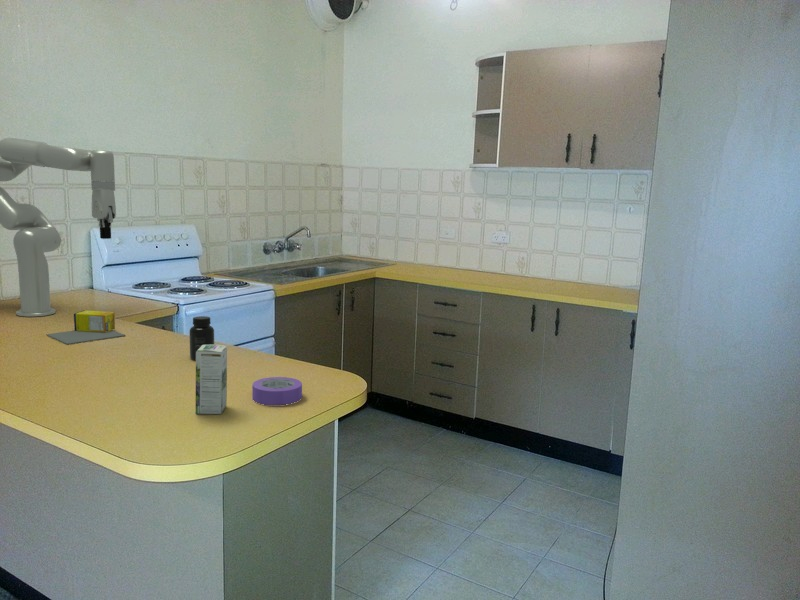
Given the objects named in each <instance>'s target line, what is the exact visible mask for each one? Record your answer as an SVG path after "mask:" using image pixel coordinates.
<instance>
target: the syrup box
mask: <svg viewBox="0 0 800 600" xmlns="http://www.w3.org/2000/svg"><path fill="white" fill-rule="evenodd" d="M227 382H228V346H227V345H223V344H214V345H213V344H209V345H202V346H201V347H200V348H199V349H198V350H197V351H196V360H195V414H196V415H222V414H223V412H224V410H225V409H226V407H227V394H228V393H227V392H228V391H227V390H228V387H227V385H228V383H227Z"/></svg>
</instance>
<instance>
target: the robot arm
mask: <svg viewBox="0 0 800 600" xmlns="http://www.w3.org/2000/svg"><path fill="white" fill-rule="evenodd" d="M31 166H35V167H40V168H52V169H59V170H65V171H71V172H73V171H74V172H75V171H76V172H90V181H91V183H90V184H91V191H92V193H91V217H92V218H94V219H96V221H97V222H98V226H99V238H100V239H101V240H105V239H107V240H109V239H110V240H111V239H112V223H114V219H115V218H116V217H117V207H116V197H115V191H116V180H115V179H116V178H115V175H116V174H115V157H114V153H113V152H112V151H109V150H98V149H96V150H95V149H94V150H87V149H82V148H75V147H74V148H71V147H64V146H57V145H50V144H47V143H46V142H43V141H35V140H28V139H22V138H14V137H6V138H3V139H1V140H0V182H9V181H12V180H14V179H16V178H17V177H19V175H21V174H22V173H23V172H24V171H26V170H27V169H29V167H31ZM0 225H1V226H2V227H3V228H4V229H6V230H7V231H17V232H16V233H15V234H14V237H13V249H14V251H15V255H16V259H17V270H18V284H19V301H20V309H18V310H16V311H15V314H16V315H17V316H19V317H27V318H29V317H31V318H32V317H45V316H50V315H53V314H56V312H57V311H56V308H53V307H51V292H50V291H51V289H50V271H49V264H48V260H47V257H46V255H45V253H49V252H54V251H56V250H57V249H59V248H60V246H61V242H62V237H61V235H60V232H59V231H58V230H57V228H56V227H55V226H54V224H53V223H52V222H51V221H50V220H49V218H47V217H46V215H45V214H44V213H43V211H41V210H40V209H39V208H38V207H37V206H35V205H33V204H30V203H18V202H17V201H16V200H15V199H13V197H12V196H11V195H10V194H9V193H8V192H7V191H6V190H5V189H4V188H3V187H2V186H0Z"/></svg>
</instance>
